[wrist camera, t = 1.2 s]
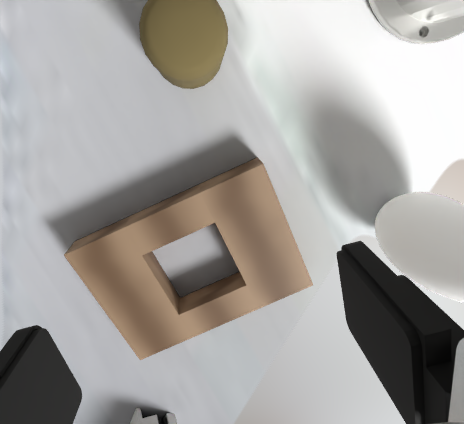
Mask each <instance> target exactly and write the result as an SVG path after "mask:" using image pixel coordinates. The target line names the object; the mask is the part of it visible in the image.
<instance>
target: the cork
mask: <svg viewBox="0 0 464 424" xmlns="http://www.w3.org/2000/svg"><path fill="white" fill-rule="evenodd" d="M139 26H140V40H141V43H142V46H143V49H144V51H145V54H146V56H147V57H148V58H149V60H150V61H151V63H152V64H153V66H154V67H156V68H157V69H158V70H159V71H160V73H161V74H162V76H163V77H164V78H165V79H166V80H168V81H169V82H170V83H172V84H173V85H176V86H178V87H181V88H190V89H194V88H197V87H201V86H204V85H205V84H207V83H208V82H209V81H211V80H212V79H213V78H214V76H215V75H216V74H217V72H218V71H219V69H220V65H221V62H222V59H223V56H224V53H225V50H226V47H227V44H228V27H227V23H226V19H225V15H224V12H223V11H222V9H221V7H220V6H219V4H218V2H217V0H148V1H147V3H146V4H145V6H144V8H143V10H142V15H141V19H140V23H139Z"/></svg>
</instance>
